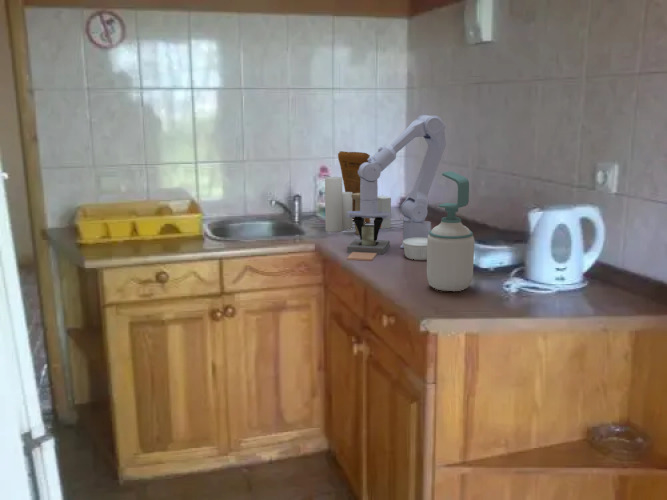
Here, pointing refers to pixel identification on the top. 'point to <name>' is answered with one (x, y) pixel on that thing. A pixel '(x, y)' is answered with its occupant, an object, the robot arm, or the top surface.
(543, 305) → the top surface
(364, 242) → the sage block
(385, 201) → the skincare box
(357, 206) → the handle
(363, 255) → the coaster
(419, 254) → the ramekin
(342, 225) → the pair of white cylinders
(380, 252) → the pocket board
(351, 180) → the pancake mix bag
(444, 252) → the soap bottle
